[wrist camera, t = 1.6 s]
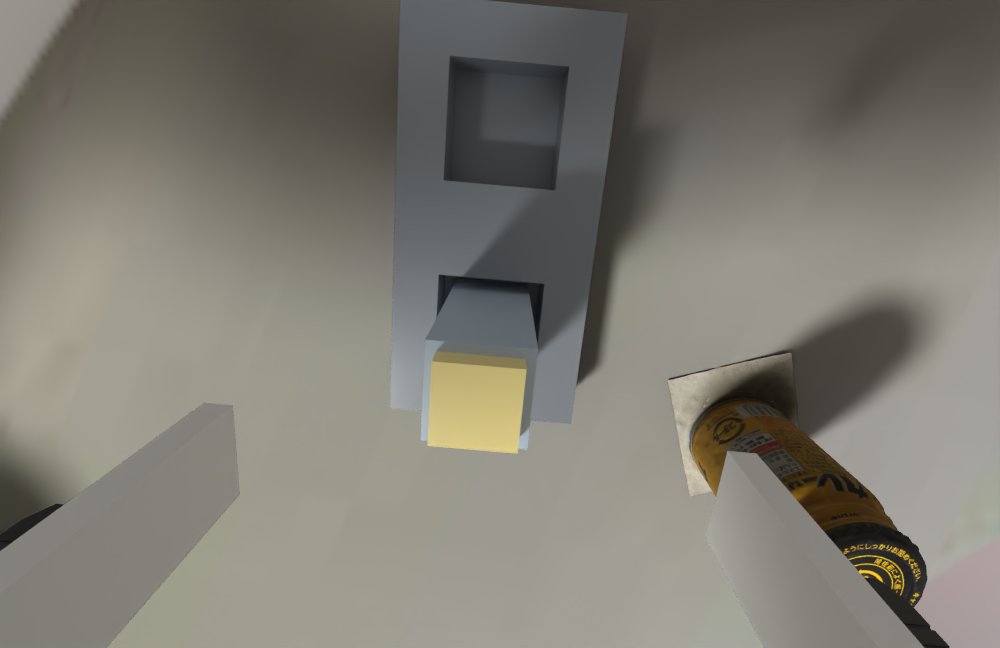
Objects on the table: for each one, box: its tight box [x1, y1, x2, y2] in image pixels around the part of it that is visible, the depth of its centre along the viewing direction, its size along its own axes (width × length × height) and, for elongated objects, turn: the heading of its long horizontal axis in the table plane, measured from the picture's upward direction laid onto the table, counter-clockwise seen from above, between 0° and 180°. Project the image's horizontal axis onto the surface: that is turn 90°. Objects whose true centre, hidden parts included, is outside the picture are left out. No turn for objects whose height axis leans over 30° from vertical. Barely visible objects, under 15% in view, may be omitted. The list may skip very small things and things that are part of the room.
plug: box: [421, 278, 538, 454], centre depth 23 cm, size 4×4×12 cm
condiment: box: [668, 353, 927, 608], centre depth 25 cm, size 7×8×12 cm
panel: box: [390, 0, 628, 424], centre depth 26 cm, size 10×20×4 cm, turn 175°
